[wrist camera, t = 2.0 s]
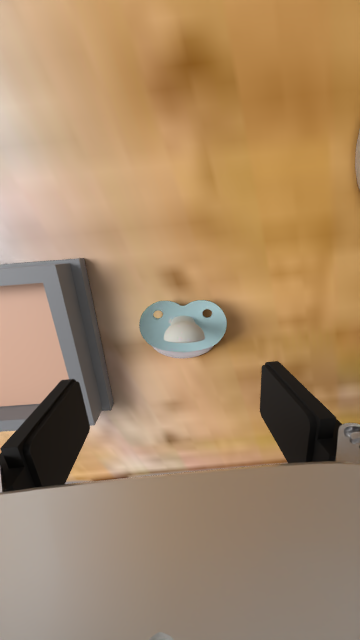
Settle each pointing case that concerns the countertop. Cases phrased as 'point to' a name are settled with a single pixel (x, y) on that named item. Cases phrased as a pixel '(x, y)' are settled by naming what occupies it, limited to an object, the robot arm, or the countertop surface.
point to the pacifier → (183, 328)
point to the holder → (48, 338)
